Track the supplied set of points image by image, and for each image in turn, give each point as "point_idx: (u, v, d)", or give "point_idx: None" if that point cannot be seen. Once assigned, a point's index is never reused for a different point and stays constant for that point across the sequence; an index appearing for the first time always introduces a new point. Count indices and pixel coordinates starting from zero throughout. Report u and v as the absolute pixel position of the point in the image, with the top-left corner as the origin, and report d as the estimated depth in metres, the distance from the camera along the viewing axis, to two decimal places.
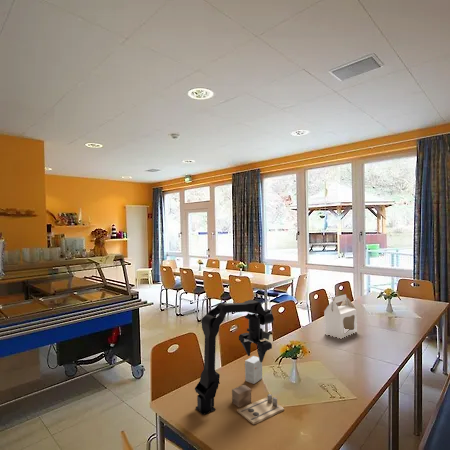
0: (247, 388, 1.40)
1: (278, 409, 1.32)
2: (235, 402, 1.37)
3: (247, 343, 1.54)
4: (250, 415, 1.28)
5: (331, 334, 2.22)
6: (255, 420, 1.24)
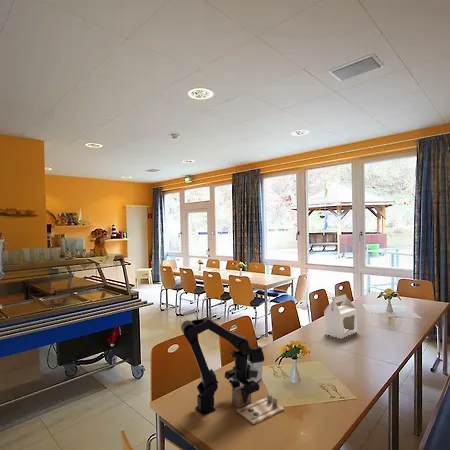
0: None
1: (278, 409, 1.32)
2: (235, 402, 1.37)
3: (236, 383, 1.41)
4: (250, 415, 1.28)
5: (331, 334, 2.22)
6: (255, 420, 1.24)
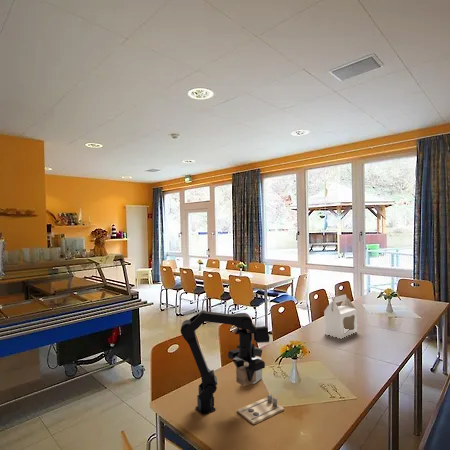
0: None
1: (278, 409, 1.32)
2: (239, 381, 1.34)
3: (240, 362, 1.38)
4: (250, 415, 1.28)
5: (331, 334, 2.22)
6: (255, 420, 1.24)
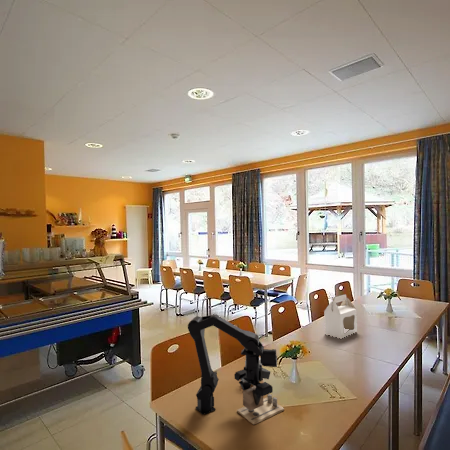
0: None
1: (278, 409, 1.32)
2: (246, 404, 1.28)
3: (247, 384, 1.32)
4: (250, 415, 1.28)
5: (331, 334, 2.22)
6: (255, 420, 1.24)
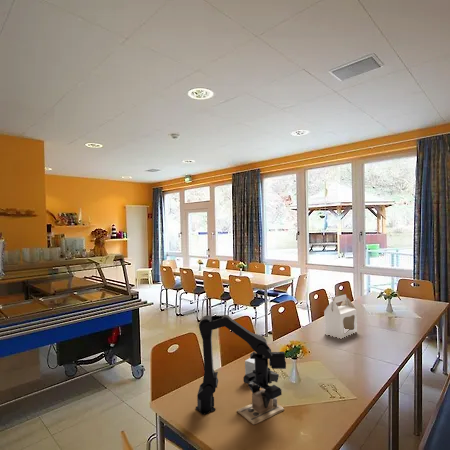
0: None
1: (278, 409, 1.32)
2: (255, 407, 1.31)
3: (256, 387, 1.35)
4: (250, 415, 1.28)
5: (331, 334, 2.22)
6: (255, 420, 1.24)
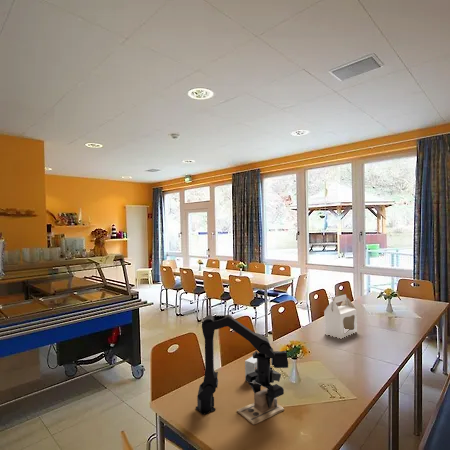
0: None
1: (278, 409, 1.32)
2: (258, 407, 1.32)
3: (257, 386, 1.36)
4: (250, 415, 1.28)
5: (331, 334, 2.22)
6: (255, 420, 1.24)
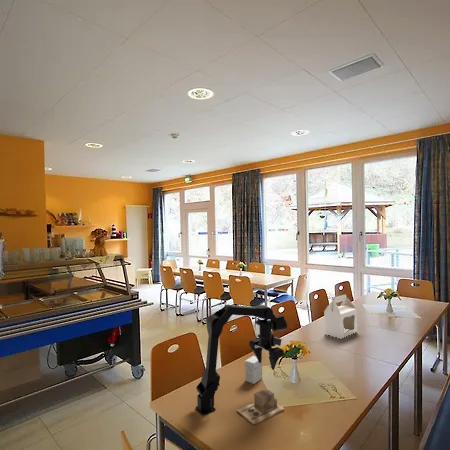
0: (270, 392, 1.34)
1: (278, 409, 1.32)
2: (258, 407, 1.32)
3: (258, 349, 1.50)
4: (250, 415, 1.28)
5: (331, 334, 2.22)
6: (255, 420, 1.24)
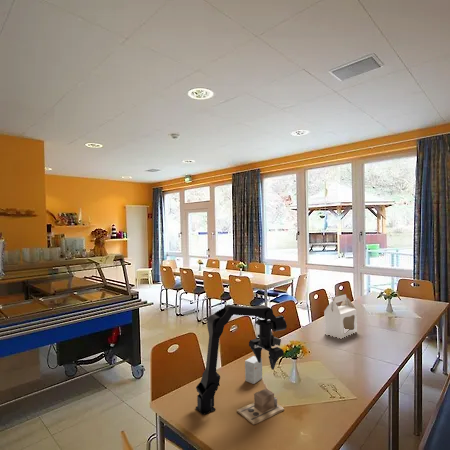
0: (270, 392, 1.34)
1: (278, 409, 1.32)
2: (258, 407, 1.32)
3: (257, 349, 1.50)
4: (250, 415, 1.28)
5: (331, 334, 2.22)
6: (255, 420, 1.24)
